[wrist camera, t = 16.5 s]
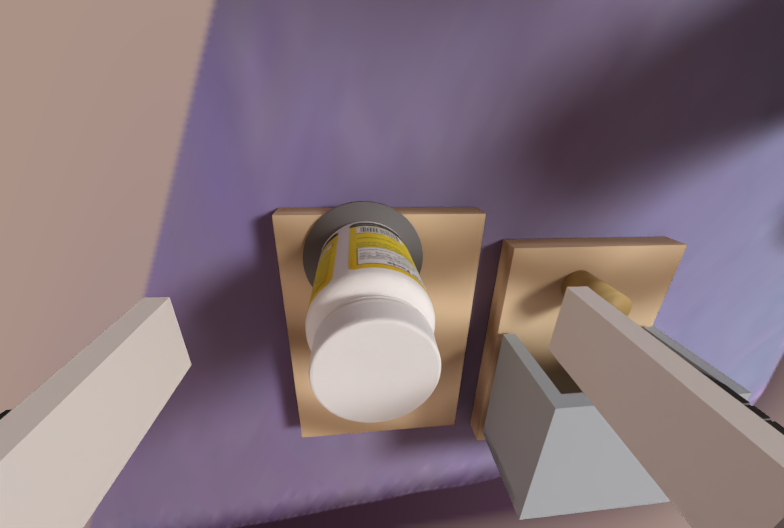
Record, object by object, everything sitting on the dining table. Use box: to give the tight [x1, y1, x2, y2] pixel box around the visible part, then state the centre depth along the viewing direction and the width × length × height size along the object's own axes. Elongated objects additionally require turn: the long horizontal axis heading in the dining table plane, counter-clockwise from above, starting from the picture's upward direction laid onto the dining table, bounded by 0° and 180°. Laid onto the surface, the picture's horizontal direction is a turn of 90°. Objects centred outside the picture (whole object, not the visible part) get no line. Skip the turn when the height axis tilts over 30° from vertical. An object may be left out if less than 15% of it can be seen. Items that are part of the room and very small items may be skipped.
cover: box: [483, 326, 751, 520], centre depth 20 cm, size 9×11×6 cm
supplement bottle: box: [305, 221, 441, 423], centre depth 13 cm, size 5×5×8 cm
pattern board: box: [470, 237, 687, 441], centre depth 21 cm, size 16×11×4 cm
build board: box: [272, 201, 486, 437], centre depth 20 cm, size 17×11×2 cm, turn 179°
